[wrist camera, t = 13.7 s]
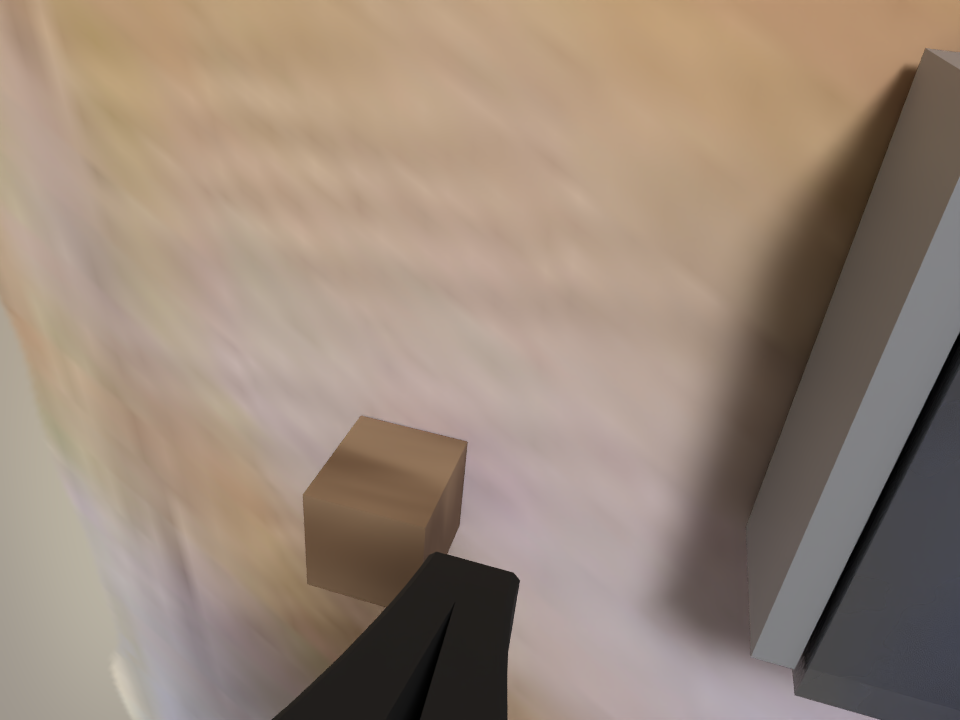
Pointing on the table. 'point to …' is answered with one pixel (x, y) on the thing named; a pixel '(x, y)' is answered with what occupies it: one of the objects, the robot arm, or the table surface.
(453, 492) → the walnut block
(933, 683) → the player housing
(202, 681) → the table surface
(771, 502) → the tray
